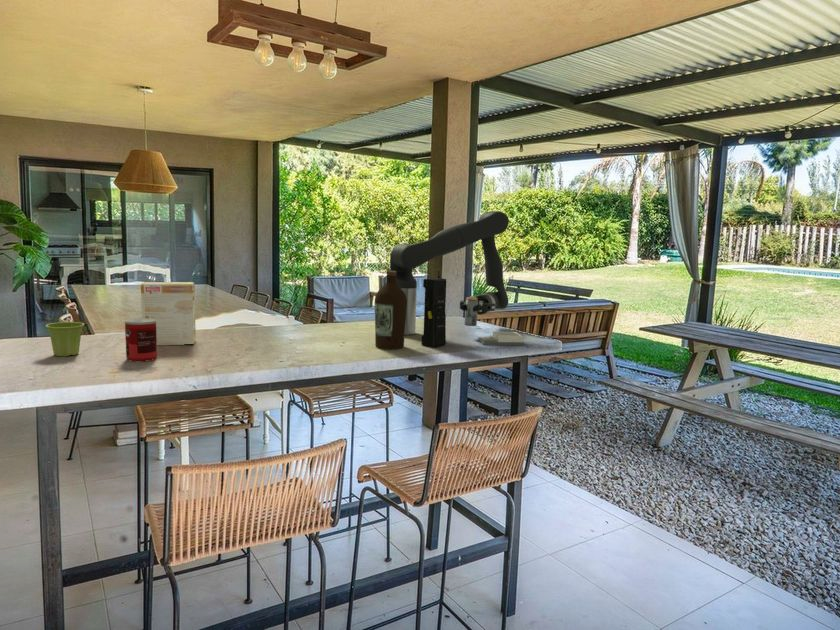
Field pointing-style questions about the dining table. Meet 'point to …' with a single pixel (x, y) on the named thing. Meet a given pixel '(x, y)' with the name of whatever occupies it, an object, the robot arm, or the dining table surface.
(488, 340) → the tester board
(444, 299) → the portable radio
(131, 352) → the canned food
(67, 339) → the plant pot
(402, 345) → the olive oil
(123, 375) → the dining table surface
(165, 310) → the coffeecake box
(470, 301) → the cell
